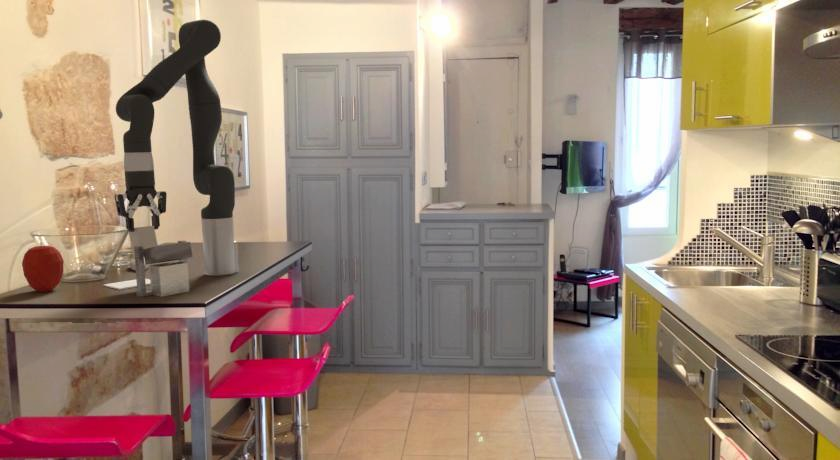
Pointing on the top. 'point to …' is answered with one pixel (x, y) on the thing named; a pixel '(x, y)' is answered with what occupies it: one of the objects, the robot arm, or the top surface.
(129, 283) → the mat
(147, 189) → the robot arm
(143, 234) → the stone block
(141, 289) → the frame
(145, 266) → the decorative stone
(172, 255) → the trapdoor
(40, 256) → the apple
